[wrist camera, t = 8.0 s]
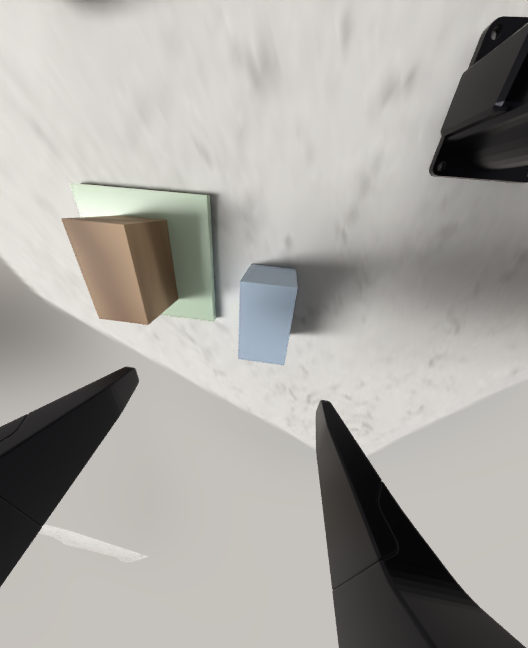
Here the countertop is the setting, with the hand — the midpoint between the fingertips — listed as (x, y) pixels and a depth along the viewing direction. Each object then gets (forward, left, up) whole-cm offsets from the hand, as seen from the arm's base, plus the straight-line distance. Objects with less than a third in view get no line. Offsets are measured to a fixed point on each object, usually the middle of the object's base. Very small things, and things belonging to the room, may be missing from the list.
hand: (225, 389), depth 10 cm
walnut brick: (+10, -2, -11) cm, 15 cm away
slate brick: (-1, +1, -12) cm, 12 cm away
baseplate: (+10, -2, -12) cm, 16 cm away
